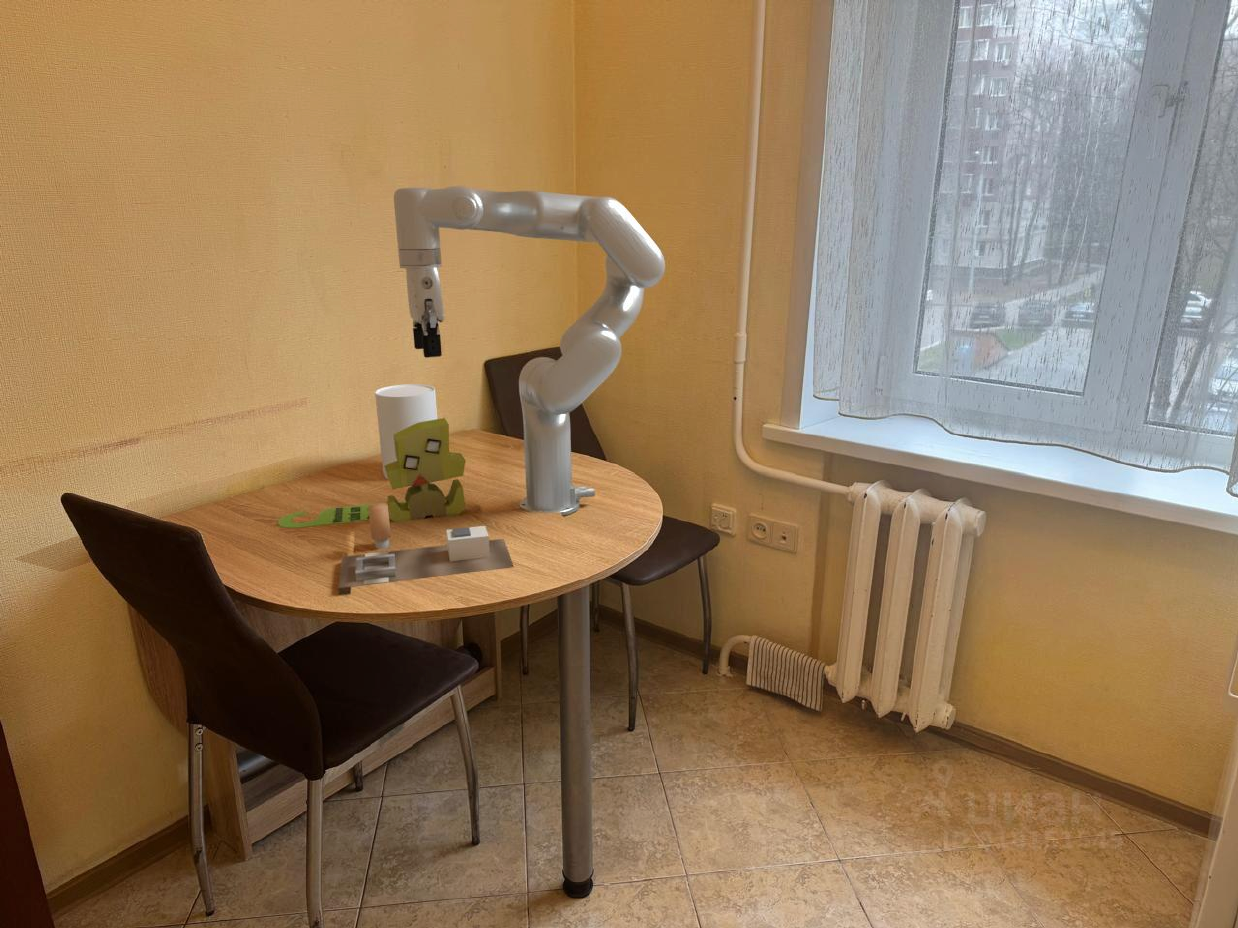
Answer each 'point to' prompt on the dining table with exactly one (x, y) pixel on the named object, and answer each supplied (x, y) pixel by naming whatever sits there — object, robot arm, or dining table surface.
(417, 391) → the canister
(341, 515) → the door hanger
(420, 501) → the toy
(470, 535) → the block
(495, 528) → the dining table surface
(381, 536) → the tan rounded cylinder
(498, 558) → the panel
